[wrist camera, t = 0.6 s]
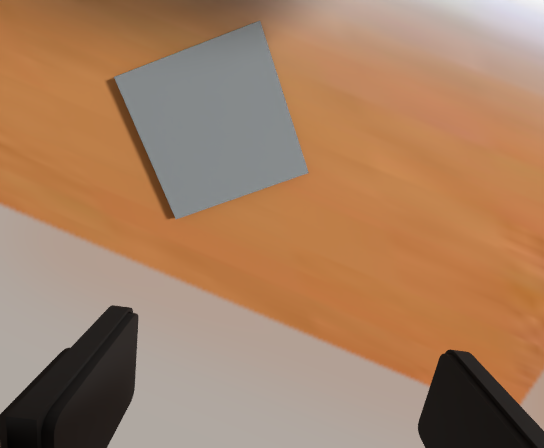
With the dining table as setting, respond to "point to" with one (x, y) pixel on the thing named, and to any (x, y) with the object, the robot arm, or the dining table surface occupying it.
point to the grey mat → (214, 121)
